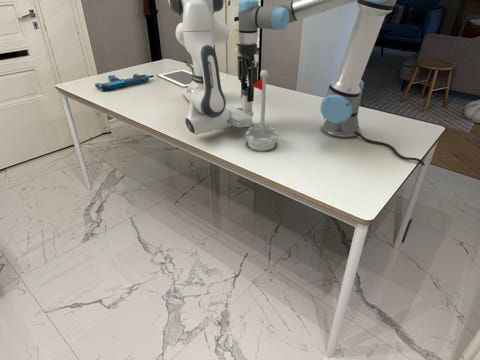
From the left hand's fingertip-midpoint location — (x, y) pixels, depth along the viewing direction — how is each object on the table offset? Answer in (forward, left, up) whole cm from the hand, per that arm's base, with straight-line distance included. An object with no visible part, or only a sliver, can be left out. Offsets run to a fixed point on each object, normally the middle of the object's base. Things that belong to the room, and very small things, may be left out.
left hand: (248, 111), depth 152 cm
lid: (0, -1, +10) cm, 10 cm away
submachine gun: (-94, -29, -7) cm, 99 cm away
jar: (0, -1, -7) cm, 7 cm away
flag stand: (+20, -7, -7) cm, 22 cm away
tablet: (-83, +6, -7) cm, 83 cm away
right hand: (0, -1, +6) cm, 6 cm away
